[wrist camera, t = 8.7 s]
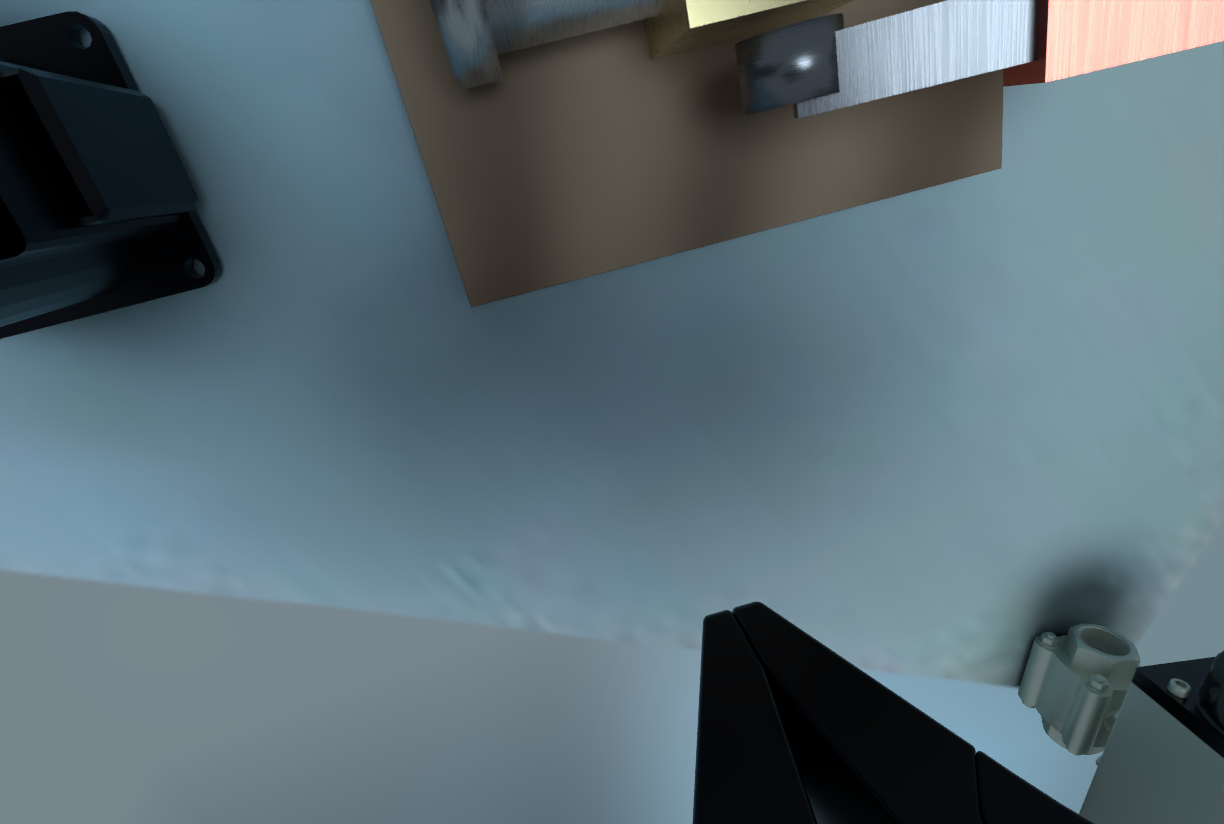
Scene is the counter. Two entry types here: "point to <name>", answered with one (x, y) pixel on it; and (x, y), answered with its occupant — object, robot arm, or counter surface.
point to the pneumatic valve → (1133, 725)
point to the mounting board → (655, 149)
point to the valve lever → (961, 47)
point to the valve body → (602, 25)
